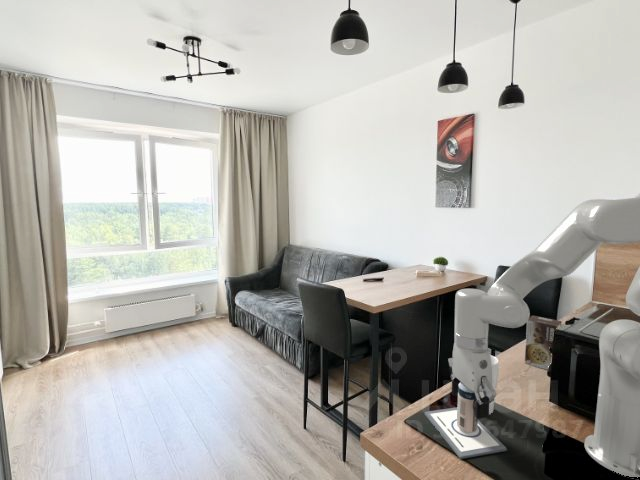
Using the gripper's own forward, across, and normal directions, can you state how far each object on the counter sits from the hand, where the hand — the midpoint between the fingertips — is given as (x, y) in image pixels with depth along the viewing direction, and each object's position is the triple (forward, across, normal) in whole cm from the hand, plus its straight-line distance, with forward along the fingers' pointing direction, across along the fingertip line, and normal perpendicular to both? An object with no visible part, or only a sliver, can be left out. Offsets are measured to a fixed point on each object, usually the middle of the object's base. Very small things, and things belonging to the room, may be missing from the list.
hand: (469, 405), depth 86 cm
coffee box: (+8, +25, -45) cm, 52 cm away
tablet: (+7, 0, +2) cm, 7 cm away
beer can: (+6, 0, 0) cm, 6 cm away
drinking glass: (+7, +7, -9) cm, 13 cm away
